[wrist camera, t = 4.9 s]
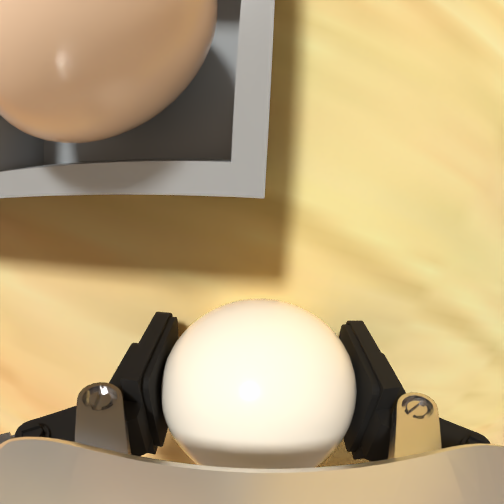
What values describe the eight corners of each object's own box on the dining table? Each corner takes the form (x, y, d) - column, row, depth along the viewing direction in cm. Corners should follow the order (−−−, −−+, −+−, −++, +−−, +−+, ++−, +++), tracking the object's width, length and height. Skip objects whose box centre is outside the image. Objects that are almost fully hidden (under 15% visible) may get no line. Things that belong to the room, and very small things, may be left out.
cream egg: (345, 273, 11) (415, 377, 5) (320, 397, 13) (346, 509, 7) (178, 265, 11) (114, 369, 5) (185, 392, 13) (157, 505, 7)
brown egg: (233, -23, 7) (217, -149, 2) (221, 143, 9) (170, 125, 3) (73, 0, 7) (-26, -62, 2) (53, 150, 9) (-83, 166, 3)
